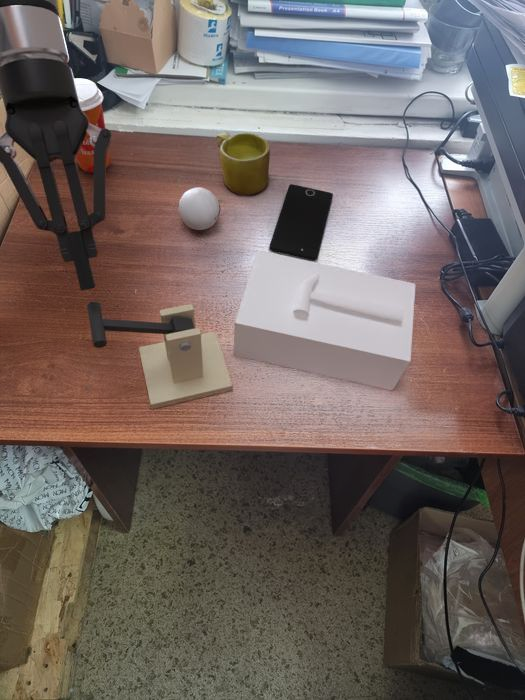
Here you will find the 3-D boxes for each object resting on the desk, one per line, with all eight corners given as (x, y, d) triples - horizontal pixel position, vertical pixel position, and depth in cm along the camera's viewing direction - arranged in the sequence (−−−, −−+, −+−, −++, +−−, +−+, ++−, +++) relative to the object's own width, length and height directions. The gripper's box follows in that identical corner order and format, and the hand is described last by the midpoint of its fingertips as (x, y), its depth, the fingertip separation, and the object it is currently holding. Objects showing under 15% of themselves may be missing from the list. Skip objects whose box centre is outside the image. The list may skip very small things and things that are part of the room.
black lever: (91, 350, 60) (95, 338, 58) (84, 310, 63) (89, 298, 61) (192, 353, 67) (199, 343, 66) (182, 318, 70) (188, 307, 69)
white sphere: (213, 242, 91) (212, 211, 85) (173, 233, 92) (170, 201, 85) (229, 206, 96) (230, 174, 90) (192, 197, 97) (190, 165, 91)
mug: (288, 181, 98) (273, 137, 90) (244, 210, 98) (226, 168, 90) (258, 155, 106) (242, 113, 98) (217, 182, 105) (198, 141, 97)
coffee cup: (66, 172, 98) (44, 98, 85) (81, 146, 102) (62, 73, 90) (108, 179, 98) (92, 107, 85) (121, 153, 102) (108, 80, 90)
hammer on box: (253, 285, 86) (258, 239, 77) (398, 316, 85) (420, 273, 76) (233, 355, 79) (235, 313, 69) (392, 390, 77) (415, 352, 68)
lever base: (151, 409, 73) (140, 363, 62) (139, 352, 78) (127, 300, 67) (232, 390, 75) (234, 343, 64) (215, 336, 80) (215, 284, 69)
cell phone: (332, 196, 100) (333, 192, 99) (316, 262, 90) (317, 258, 89) (289, 187, 100) (289, 183, 100) (268, 250, 91) (268, 247, 90)
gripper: (98, 72, 58) (143, 276, 64) (-24, 84, 55) (35, 296, 61) (95, 49, 51) (145, 280, 57) (-45, 60, 48) (23, 303, 54)
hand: (88, 288), depth 59 cm, fingers closed
